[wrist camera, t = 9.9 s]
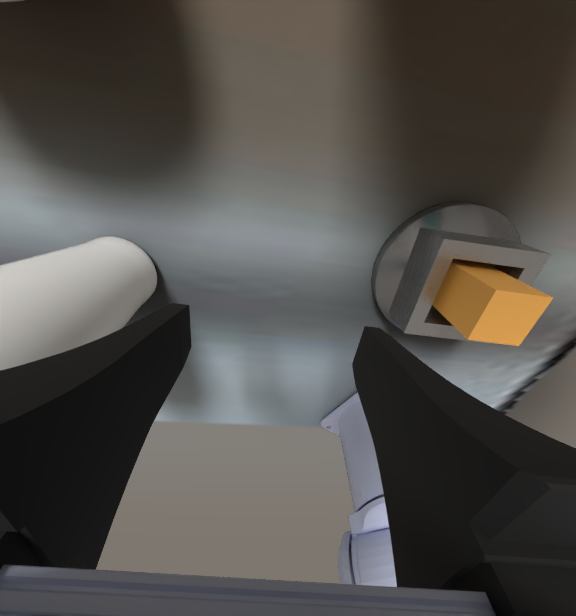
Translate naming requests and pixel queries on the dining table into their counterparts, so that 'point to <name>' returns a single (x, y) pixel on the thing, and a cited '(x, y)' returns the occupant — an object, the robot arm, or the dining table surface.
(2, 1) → the lidded bowl
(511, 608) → the robot arm
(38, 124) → the dining table surface
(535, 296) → the orange block
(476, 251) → the grey square frame
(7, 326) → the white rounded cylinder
